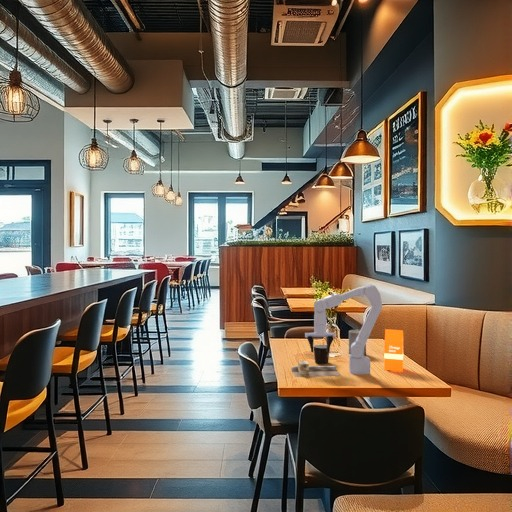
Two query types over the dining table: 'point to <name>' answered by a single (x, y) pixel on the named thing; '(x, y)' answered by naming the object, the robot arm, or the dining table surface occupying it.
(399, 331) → the orange juice
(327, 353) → the coffee mug
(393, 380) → the dining table surface
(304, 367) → the block
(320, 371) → the marking board
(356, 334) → the grey tall block
